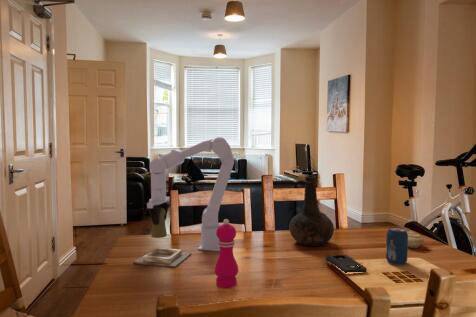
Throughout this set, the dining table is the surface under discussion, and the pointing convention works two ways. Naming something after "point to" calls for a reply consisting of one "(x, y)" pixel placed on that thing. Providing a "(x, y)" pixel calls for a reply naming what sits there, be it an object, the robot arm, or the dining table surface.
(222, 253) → the pepper mill
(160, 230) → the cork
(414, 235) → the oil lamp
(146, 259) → the collar board
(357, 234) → the dining table surface
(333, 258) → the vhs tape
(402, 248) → the soda can
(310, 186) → the dark bottle vase
